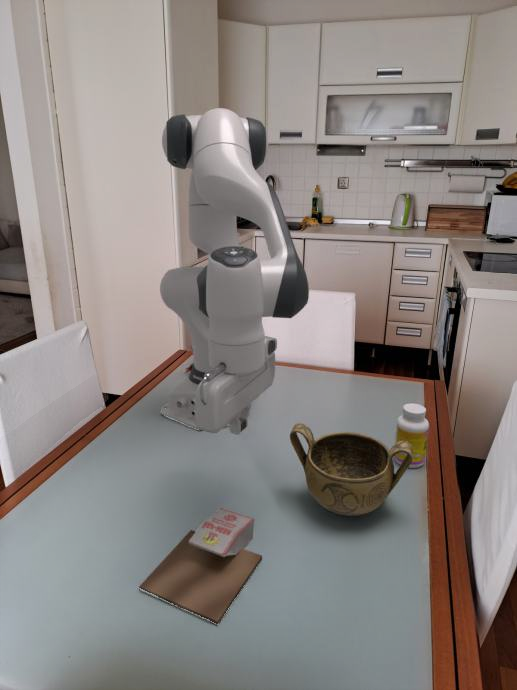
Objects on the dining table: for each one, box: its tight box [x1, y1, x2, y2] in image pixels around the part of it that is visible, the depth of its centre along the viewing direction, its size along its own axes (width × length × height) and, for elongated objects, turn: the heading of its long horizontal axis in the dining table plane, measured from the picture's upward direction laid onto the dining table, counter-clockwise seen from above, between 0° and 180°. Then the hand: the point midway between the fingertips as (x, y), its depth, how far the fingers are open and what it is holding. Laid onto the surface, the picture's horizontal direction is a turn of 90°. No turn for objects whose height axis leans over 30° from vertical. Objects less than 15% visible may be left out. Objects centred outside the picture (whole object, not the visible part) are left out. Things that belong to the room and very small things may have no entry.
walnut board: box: [139, 529, 263, 624], centre depth 78 cm, size 14×14×1 cm
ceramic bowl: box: [289, 422, 413, 517], centre depth 93 cm, size 22×17×15 cm
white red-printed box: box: [189, 507, 255, 557], centre depth 83 cm, size 4×7×10 cm
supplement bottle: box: [393, 402, 430, 469], centre depth 106 cm, size 7×7×13 cm
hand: (239, 430), depth 82 cm, fingers closed
